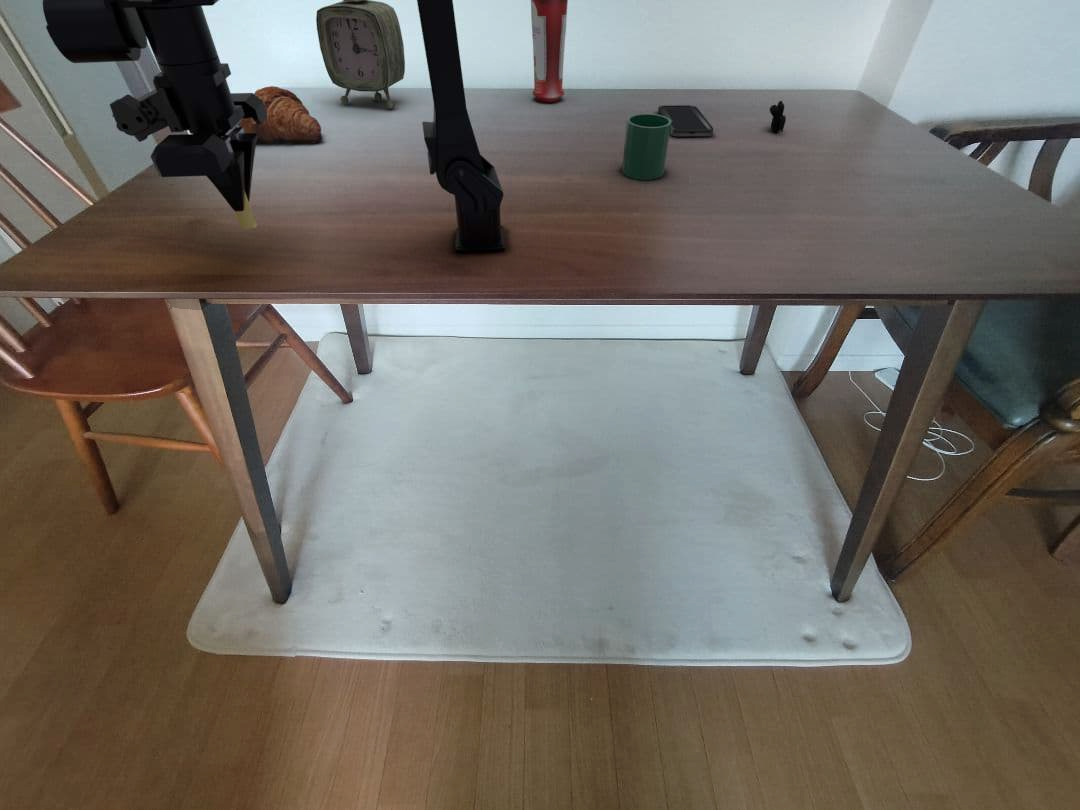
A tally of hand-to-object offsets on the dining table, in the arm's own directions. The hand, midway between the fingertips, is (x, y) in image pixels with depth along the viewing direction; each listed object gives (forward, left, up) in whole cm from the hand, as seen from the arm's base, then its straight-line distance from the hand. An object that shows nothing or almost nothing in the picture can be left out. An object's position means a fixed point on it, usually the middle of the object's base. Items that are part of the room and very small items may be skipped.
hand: (242, 206), depth 69 cm
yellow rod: (0, 0, -2) cm, 2 cm away
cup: (+25, -55, -7) cm, 61 cm away
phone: (+48, -68, -7) cm, 84 cm away
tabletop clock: (+66, -6, -7) cm, 67 cm away
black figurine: (+43, -84, -7) cm, 95 cm away
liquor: (+66, -43, -7) cm, 79 cm away
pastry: (+48, +10, -7) cm, 50 cm away
